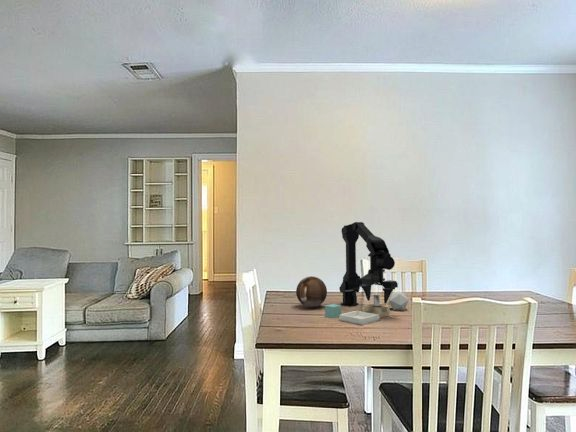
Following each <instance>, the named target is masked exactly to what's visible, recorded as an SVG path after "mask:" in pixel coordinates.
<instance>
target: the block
mask: <svg viewBox="0 0 576 432" xmlns="http://www.w3.org/2000/svg"><path fill="white" fill-rule="evenodd" d="M324 311H325V312H324V315H325V316H324V317H326V318H331V319H337V318H339V315H340V314H342V304H334V303H331V304H326V305H324Z"/></svg>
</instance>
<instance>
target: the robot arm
mask: <svg viewBox="0 0 576 432" xmlns="http://www.w3.org/2000/svg"><path fill="white" fill-rule="evenodd" d="M341 236H342V239H343V241H344V242H345V273H344V275H343V277H342V282H341V284H340V286H339V292H340V293H341V294H342V302H340V305H343V306H349V307H352V306H355V305H359V303H358V299H357V298H358V296H357V293H360V288H361V289H362V290H363V291H364V294H365V297H366V300H367V301H370V300H371V295H372V293H371V292H372V286H373V285H375V286H382V287H383V288H382V290H383V303H384V304H387V303H388V301H389V299H390V296H391V293H392V292H393V291H394V290H396V288H399V287H398V286H399V283H398V282H397V280H389V279H388V280H386V278H384V273H386V270H388V271H390V270H392V269H393V268H394V267H395V264H396V262H395V259H394V257H392V256H391V253H390V250H389V248H388V246H387V244H386V242H385V240H384V239H383V238H381V237H379V236H377V235H375V234H374V233H373V232H371V230H370V229H369V228H368V227H367V226H366V225H365V223H364V222H363V221H355V222H353V223H351V224H347V225H343V227H342V228H341ZM360 237H361V239H362V240H363V241H364V242H365V243H366V244H365V245H366V246H365V247H366V248H367V250H368V251H369V253H368V254H367V256H368V257H369V258H370V259H369V263H370V265H369V269H368V271H367V274H364V276H362V277H361V276H360V275H359V274H358V273H357V255H356V253H357V248H356V245H357V241H358V240H359V238H360Z"/></svg>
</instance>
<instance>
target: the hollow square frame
mask: <svg viewBox="0 0 576 432" xmlns="http://www.w3.org/2000/svg"><path fill="white" fill-rule="evenodd" d="M363 308H364V309H363V312H367V313H373V314H378V315H379V319H381V318H384V317H388V316H390V305H384V304H380V307H374V303H372V304H368V305H364V306H363Z"/></svg>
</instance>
